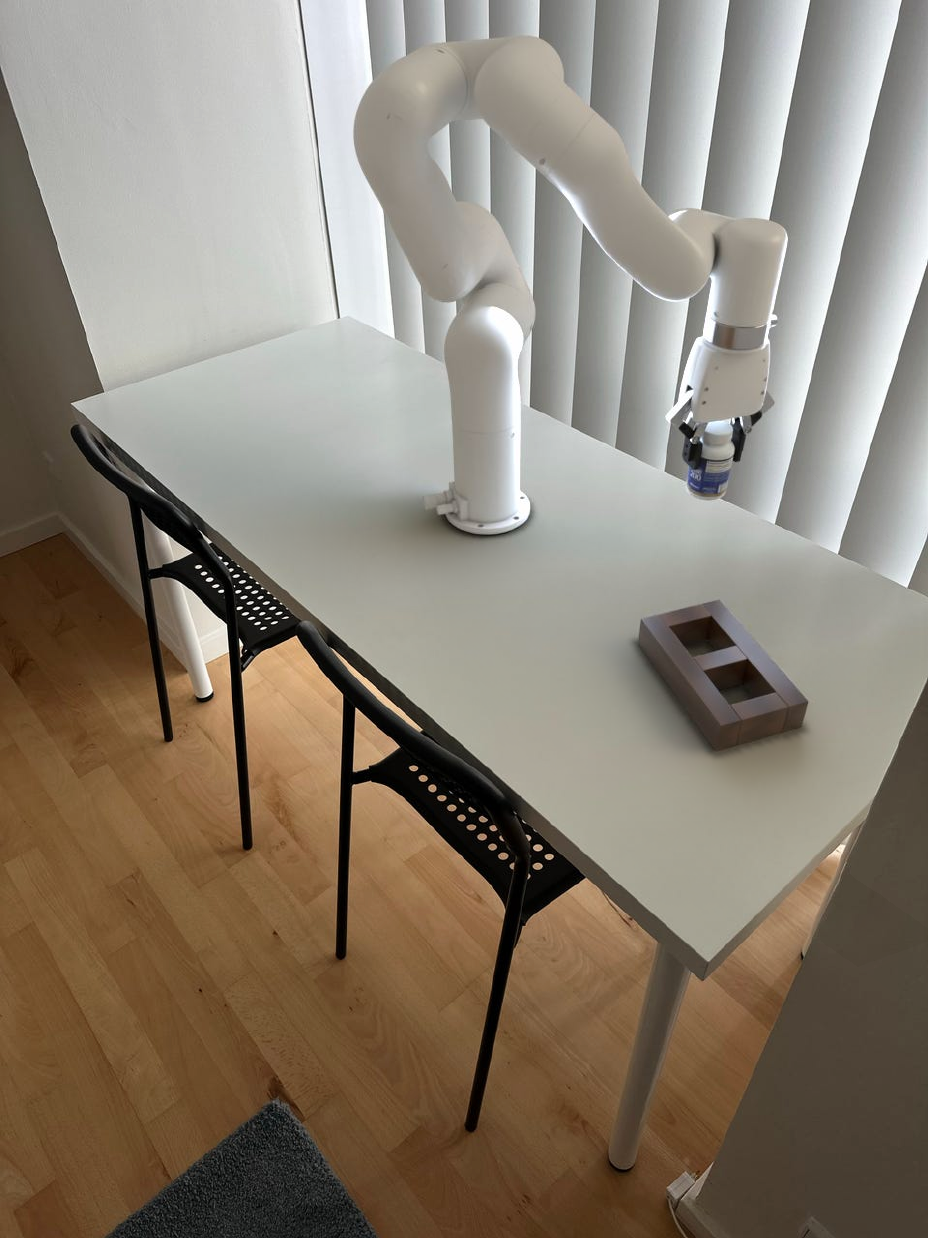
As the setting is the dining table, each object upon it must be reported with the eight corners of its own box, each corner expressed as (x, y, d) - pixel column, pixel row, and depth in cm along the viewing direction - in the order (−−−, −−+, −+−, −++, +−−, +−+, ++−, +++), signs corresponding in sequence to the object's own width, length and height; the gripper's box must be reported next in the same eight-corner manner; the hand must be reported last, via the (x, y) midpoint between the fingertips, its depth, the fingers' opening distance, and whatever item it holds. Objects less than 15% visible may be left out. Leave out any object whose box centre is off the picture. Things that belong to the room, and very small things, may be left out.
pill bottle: (680, 481, 131) (691, 417, 124) (718, 479, 131) (731, 416, 125) (691, 503, 127) (702, 438, 120) (730, 501, 127) (744, 436, 121)
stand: (715, 751, 104) (721, 726, 101) (637, 643, 118) (640, 618, 115) (801, 727, 106) (809, 701, 103) (714, 623, 120) (719, 599, 117)
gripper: (780, 308, 119) (752, 437, 130) (657, 327, 115) (639, 457, 126) (815, 332, 113) (782, 464, 125) (687, 352, 109) (666, 486, 121)
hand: (711, 459), depth 126 cm, fingers closed on pill bottle, 5 cm apart
